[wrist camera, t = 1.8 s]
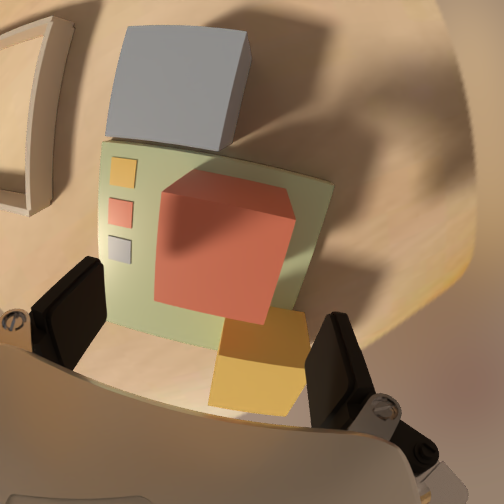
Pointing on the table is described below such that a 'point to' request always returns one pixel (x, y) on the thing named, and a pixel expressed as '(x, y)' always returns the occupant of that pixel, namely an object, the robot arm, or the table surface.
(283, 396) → the ochre block
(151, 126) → the slate block
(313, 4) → the table surface
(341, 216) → the table surface
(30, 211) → the beige open rectangular frame
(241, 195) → the red block
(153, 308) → the building board
